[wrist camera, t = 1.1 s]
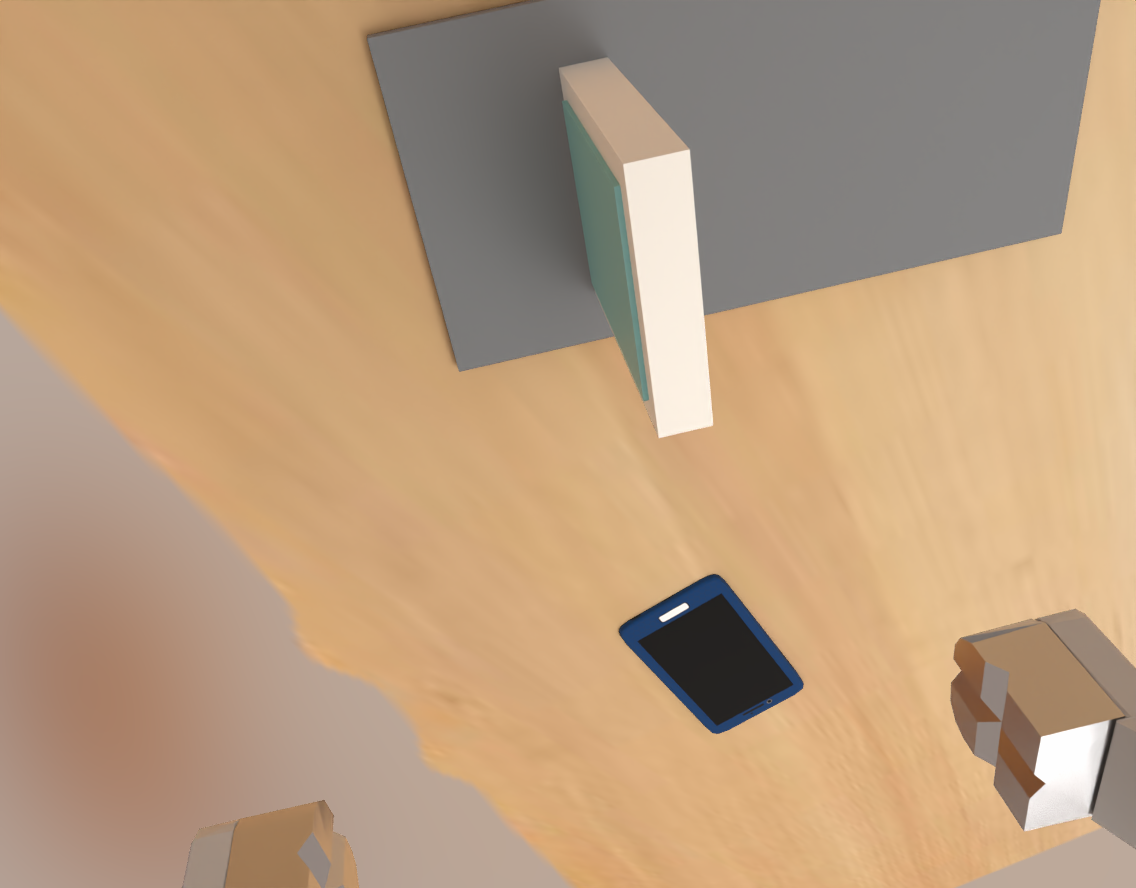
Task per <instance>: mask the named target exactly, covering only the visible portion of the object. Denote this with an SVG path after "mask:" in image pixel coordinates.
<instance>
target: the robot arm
mask: <svg viewBox="0 0 1136 888" xmlns="http://www.w3.org/2000/svg"><path fill="white" fill-rule="evenodd" d="M953 659H954V660H955V662H956V663H957V665H958V666H959V668H960V669H961V672H960V673H959V674H958V675H957V676H956V678H955V679H954V680H953V681H952V682H951V705H952V709H953V713H954V717H955V721H956V723H957V725H958V727H959V730H960V732H961V734H962V736H963V738H964V740H965V741H966V743H967V744H968V746H969V748H970V749H971V751H972V752H973V754H974V755H975V756H977V757H979V758H981V759H983V760H984V761H986V762H988V763H990V764H992V765H993V766H995V767H996V768H995V776H994V786H995V788H996V790H997V791H998V793H999V794H1000V796H1001V797H1002V799H1003V800H1004V802H1005V803H1006V805H1007V806H1008V808H1009V809H1010V811H1011V812H1012V814H1013V815H1014V817H1015V818H1016V820H1017V821H1018V823H1019V825H1020V826H1021V828H1022V829H1023V831H1028V830H1032V829H1037V828H1041V827H1045V826H1050V825H1054V824H1058V823H1063V822H1067V821H1071V820H1076V819H1080V818H1084V817H1089V816H1092V819H1091V820H1093V821H1094V822H1096V823H1097V824H1099V825H1100V826H1102V827H1103V828H1105V829H1107V830H1108V831H1109V832H1111V833H1112V834H1114V835H1115V836H1117V837H1118V838H1120V839H1121V840H1123V841H1124V842H1126V843H1127V844H1129V845H1130V846H1132V847H1133V848H1135V849H1136V668H1135V667H1134V666H1133V665H1132V664H1131V663H1130V662H1129V661H1128V660H1127V658H1126V657H1125V656H1124V655H1123V654H1122V653H1121V652H1120V651H1119V650H1118V649H1117V648H1116V647H1115V646H1114V644H1113V643H1112V642H1111V641H1110V640H1109V639H1108V638H1107V637H1106V636H1105V635H1104V634H1103V633H1102V632H1101V630H1100V629H1099V628H1098V627H1097V626H1096V625H1095V624H1094V623H1093V622H1092V621H1091V620H1090V619H1089V618H1088V617H1087V615H1086V614H1084V613H1082V612H1080V611H1078V610H1077V609H1073V610H1068V611H1064V612H1060V613H1056V614H1052V615H1049V616H1045V617H1041V618H1037V619H1035V620H1033V619H1029V620H1025V621H1021V622H1018V623H1014V624H1010V625H1007V626H1003V627H999V628H995V629H992V630H988V631H984V632H980V633H977V634H973V635H969V636H965V637H962V638H960V639H959V640H958V642H957V643H956V644H955V649H954V658H953ZM333 817H334V815H333V814H332V812H331V810H330V809H329V807H328V805H327V804H326V802H325V800H322V801H318V802H313V803H309V804H304V805H300V806H295V807H291V808H287V809H282V810H278V811H273V812H269V813H264V814H260V815H256V816H251V817H246V818H242V819H237V820H233V821H229V822H225V823H221V824H217V825H213V826H209V827H205V828H201V829H199V830H198V832H197V834H196V836H195V838H194V840H193V841H192V843H191V847H190V852H189V857H188V862H187V867H186V871H185V876H184V881H183V886H182V888H359V885H358V876H357V869H356V863H355V860H354V856H353V853H352V850H351V847H350V845H349V843H348V841H347V839H346V838H345V836H343V835H340V834H338V833H335V832H333Z"/></svg>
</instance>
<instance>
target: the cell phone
mask: <svg viewBox="0 0 1136 888" xmlns="http://www.w3.org/2000/svg"><path fill="white" fill-rule="evenodd" d="M619 633H620V636H621V637H622V639H623V640H624V641H625V643H626V644H627V645H628V646H629V647H630V648H631V649H632V650H633V651H634V653H635V654H636V655H637V656H638V657H639V658H640V659H641V660H642V661H643V662H644V663H645V664H646V665H647V666H648V667H649V668H650V669H651V670H652V671H653V672H654V673H655V674H656V675H657V677H658V678H659V679H660V680H661V681H662V682H663V683H664V684H665V685H666V686H667V687H668V688H669V689H670V690H671V691H672V692H673V693H674V694H675V695H676V696H677V697H678V698H679V700H680V701H681V702H682V703H683V704H684V705H685V706H686V707H687V708H688V709H689V710H690V711H691V712H692V713H693V714H694V715H695V716H696V717H697V718H698V719H699V720H700V721H701V722H702V724H703V725H704V726H705V727H706V728H708V729H709V730H710V731H711V732H712V733H716V734H719V733H722V732H725V731H727V730H729V729H731V728H733V727H735V726H737V725H739V724H741V723H743V722H744V721H746V720H748V719H750V718H752V717H754V716H756V715H758V714H759V713H761V712H763V711H765V710H767V709H769V708H771V707H773V706H774V705H776V704H778V703H780V702H782V701H784V700H786V699H788V698H789V697H791V696H793V695H795V694H796V693H797V692H799V691H800V690H801V689H803V684H804V683H803V681H802V680H801V678H800V676H799V675H798V673H797V672H796V670H795V669H794V668H793V667H792V665H791V664H790V663H789V661H788V660H787V659H786V658H785V656H784V655H783V654H782V652H781V651H780V650H779V649H778V647H777V646H776V645H775V644H774V642H773V641H772V640H771V638H770V637H769V636H768V635H767V633H766V632H765V631H764V630H763V628H762V627H761V626H760V624H759V623H758V622H757V621H756V619H755V618H754V617H753V616H752V614H751V613H750V612H749V610H748V609H747V608H746V607H745V605H744V604H743V603H742V602H741V600H740V599H739V598H738V596H737V595H736V594H735V593H734V591H733V590H732V589H731V588H730V586H729V585H728V584H727V583H726V581H725V580H724V579H723V578H721V577H720V576H719V575H716V574H713V575H709V576H707V577H705V578H703V579H701V580H699V581H697V582H695V583H693V584H692V585H690V586H688V587H686V588H685V589H683V590H681V591H679V592H678V593H676V594H674V595H672V596H671V597H669V598H667V599H665V600H664V601H662V602H660V603H658V604H657V605H655V606H653V607H651V608H650V609H648V610H646V611H645V612H643V613H641V614H639V615H638V616H636V617H634V618H632V619H631V620H629V621H627V622H626V623H625V624H623V625H622V626H621V627H620V629H619Z"/></svg>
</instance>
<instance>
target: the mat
mask: <svg viewBox="0 0 1136 888" xmlns="http://www.w3.org/2000/svg"><path fill="white" fill-rule="evenodd" d="M1100 1H1101V0H530V1H525V2H520V3H516V4H511V5H506V6H502V7H497V8H492V9H488V10H483V11H478V12H474V13H469V14H464V15H460V16H455V17H450V18H446V19H441V20H436V21H432V22H427V23H422V24H418V25H413V26H408V27H404V28H399V29H394V30H390V31H385V32H380V33H376V34H371V35H367V41H368V44H369V48H370V51H371V55H372V59H373V62H374V66H375V69H376V73H377V77H378V80H379V84H380V87H381V91H382V95H383V98H384V102H385V106H386V109H387V113H388V116H389V120H390V124H391V127H392V131H393V134H394V138H395V142H396V145H397V149H398V153H399V156H400V160H401V163H402V167H403V171H404V174H405V178H406V181H407V185H408V189H409V192H410V196H411V199H412V203H413V207H414V210H415V214H416V218H417V221H418V225H419V228H420V232H421V236H422V239H423V243H424V246H425V250H426V254H427V257H428V261H429V264H430V268H431V272H432V275H433V279H434V283H435V286H436V290H437V293H438V297H439V301H440V304H441V308H442V311H443V315H444V319H445V322H446V326H447V330H448V333H449V337H450V340H451V344H452V348H453V351H454V355H455V358H456V362H457V366H458V369H459V372H460V371H465V370H469V369H473V368H478V367H482V366H487V365H491V364H495V363H500V362H504V361H508V360H513V359H517V358H521V357H526V356H530V355H534V354H539V353H543V352H547V351H552V350H556V349H560V348H565V347H569V346H574V345H578V344H582V343H587V342H591V341H595V340H600V339H604V338H608V337H613V336H614V335H613V332H612V330H611V328H610V325H609V323H608V321H607V319H606V316H605V314H604V312H603V309H602V307H601V305H600V302H599V300H598V298H597V296H596V293H595V289H594V287H593V285H592V282H591V276H590V270H589V264H588V258H587V252H586V245H585V239H584V233H583V227H582V221H581V215H580V209H579V203H578V197H577V191H576V184H575V178H574V172H573V166H572V160H571V154H570V148H569V142H568V136H567V129H566V123H565V117H564V111H563V105H562V101H564V98H563V92H562V86H561V80H560V74H559V68H560V67H565V66H569V65H574V64H578V63H583V62H588V61H592V60H597V59H601V58H606V57H608V58H609V59H610V60H611V62H612V63H613V64H614V65H615V66H616V67H617V68H618V69H619V71H620V72H621V73H622V74H623V75H624V76H625V77H626V78H627V80H628V81H629V82H630V83H631V84H632V85H633V86H634V87H635V89H636V90H637V91H638V92H639V93H640V94H641V95H642V96H643V97H644V99H645V100H646V101H647V102H648V103H649V104H650V105H651V106H652V108H653V109H654V110H655V111H656V112H657V113H658V114H659V115H660V117H661V118H662V119H663V120H664V121H665V122H666V123H667V124H668V125H669V127H670V128H671V129H672V130H673V131H674V132H675V133H676V134H677V136H678V137H679V138H680V139H681V140H682V141H683V142H684V143H685V145H686V146H687V147H688V148H689V149H690V158H691V170H692V181H693V193H694V205H695V217H696V228H697V240H698V252H699V264H700V275H701V287H702V299H703V311H704V315H708V314H713V313H717V312H721V311H726V310H730V309H734V308H739V307H743V306H748V305H752V304H756V303H761V302H765V301H769V300H774V299H778V298H782V297H787V296H791V295H795V294H800V293H804V292H808V291H813V290H817V289H821V288H826V287H830V286H835V285H839V284H843V283H848V282H852V281H856V280H861V279H865V278H869V277H874V276H878V275H882V274H887V273H891V272H895V271H900V270H904V269H908V268H913V267H917V266H922V265H926V264H930V263H935V262H939V261H943V260H948V259H952V258H956V257H961V256H965V255H969V254H974V253H978V252H982V251H987V250H991V249H996V248H1000V247H1004V246H1009V245H1013V244H1017V243H1022V242H1026V241H1030V240H1035V239H1039V238H1043V237H1048V236H1052V235H1056V234H1061V233H1062V227H1063V221H1064V215H1065V209H1066V203H1067V197H1068V191H1069V185H1070V179H1071V173H1072V167H1073V161H1074V155H1075V149H1076V143H1077V137H1078V132H1079V126H1080V120H1081V114H1082V108H1083V102H1084V96H1085V90H1086V84H1087V78H1088V72H1089V66H1090V60H1091V54H1092V48H1093V42H1094V36H1095V30H1096V25H1097V19H1098V13H1099V7H1100Z"/></svg>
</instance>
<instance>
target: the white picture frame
mask: <svg viewBox="0 0 1136 888" xmlns="http://www.w3.org/2000/svg"><path fill="white" fill-rule="evenodd" d="M559 74H560V80H561V86H562V92H563V98H564V101H562V105H563V111H564V117H565V123H566V129H567V136H568V142H569V148H570V154H571V160H572V166H573V172H574V178H575V184H576V191H577V197H578V203H579V209H580V215H581V221H582V227H583V233H584V239H585V245H586V252H587V258H588V264H589V270H590V276H591V282H592V285H593V287H594V289H595V293H596V296H597V298H598V300H599V302H600V305H601V307H602V309H603V312H604V314H605V316H606V319H607V321H608V323H609V325H610V328H611V330H612V332H613V335H614V337H615V339H616V341H617V344H618V346H619V348H620V351H621V353H622V355H623V357H624V360H625V362H626V364H627V367H628V369H629V371H630V373H631V376H632V378H633V380H634V383H635V385H636V387H637V389H638V392H639V394H640V396H641V399H642V401H643V403H644V406H645V408H646V410H647V412H648V415H649V417H650V419H651V422H652V424H653V426H654V428H655V431H656V433H657V435H658V438H662V437H666V436H670V435H675V434H679V433H683V432H687V431H692V430H696V429H700V428H704V427H709V426H713V417H712V405H711V393H710V381H709V370H708V358H707V346H706V334H705V323H704V311H703V299H702V287H701V275H700V264H699V252H698V240H697V228H696V217H695V205H694V193H693V181H692V170H691V158H690V149H689V148H688V147H687V146H686V145H685V143H684V142H683V141H682V140H681V139H680V138H679V137H678V136H677V134H676V133H675V132H674V131H673V130H672V129H671V128H670V127H669V125H668V124H667V123H666V122H665V121H664V120H663V119H662V118H661V117H660V115H659V114H658V113H657V112H656V111H655V110H654V109H653V108H652V106H651V105H650V104H649V103H648V102H647V101H646V100H645V99H644V97H643V96H642V95H641V94H640V93H639V92H638V91H637V90H636V89H635V87H634V86H633V85H632V84H631V83H630V82H629V81H628V80H627V78H626V77H625V76H624V75H623V74H622V73H621V72H620V71H619V69H618V68H617V67H616V66H615V65H614V64H613V63H612V62H611V60H610V59H609V58H608V57H606V58H601V59H597V60H592V61H588V62H583V63H578V64H574V65H569V66H565V67H560V68H559Z"/></svg>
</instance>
